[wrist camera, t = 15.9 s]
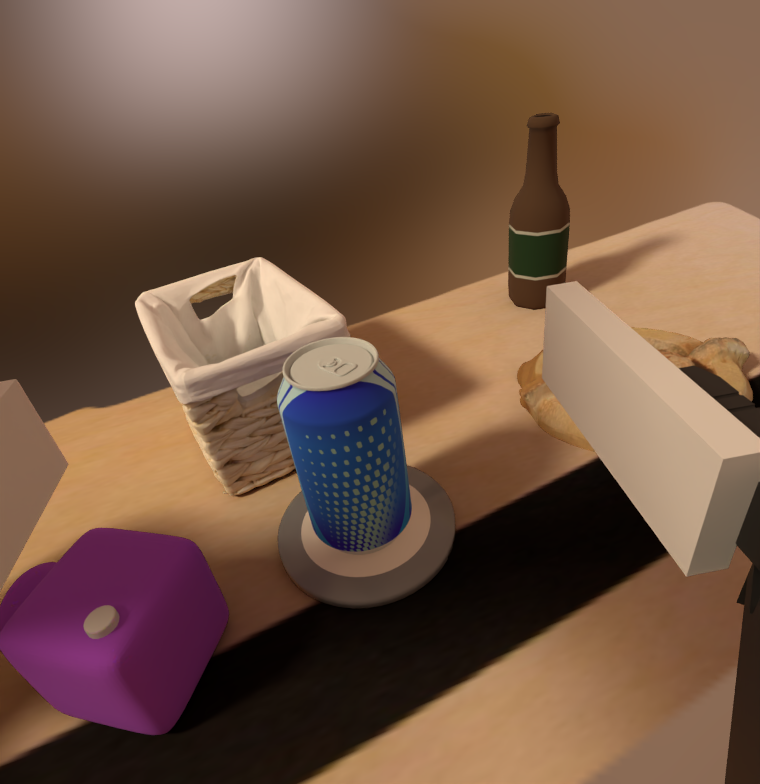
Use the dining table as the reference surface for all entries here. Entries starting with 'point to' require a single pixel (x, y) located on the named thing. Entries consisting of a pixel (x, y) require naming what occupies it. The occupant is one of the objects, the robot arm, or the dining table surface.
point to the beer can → (346, 443)
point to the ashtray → (679, 349)
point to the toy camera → (116, 628)
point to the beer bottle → (538, 220)
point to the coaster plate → (375, 570)
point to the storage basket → (236, 361)
